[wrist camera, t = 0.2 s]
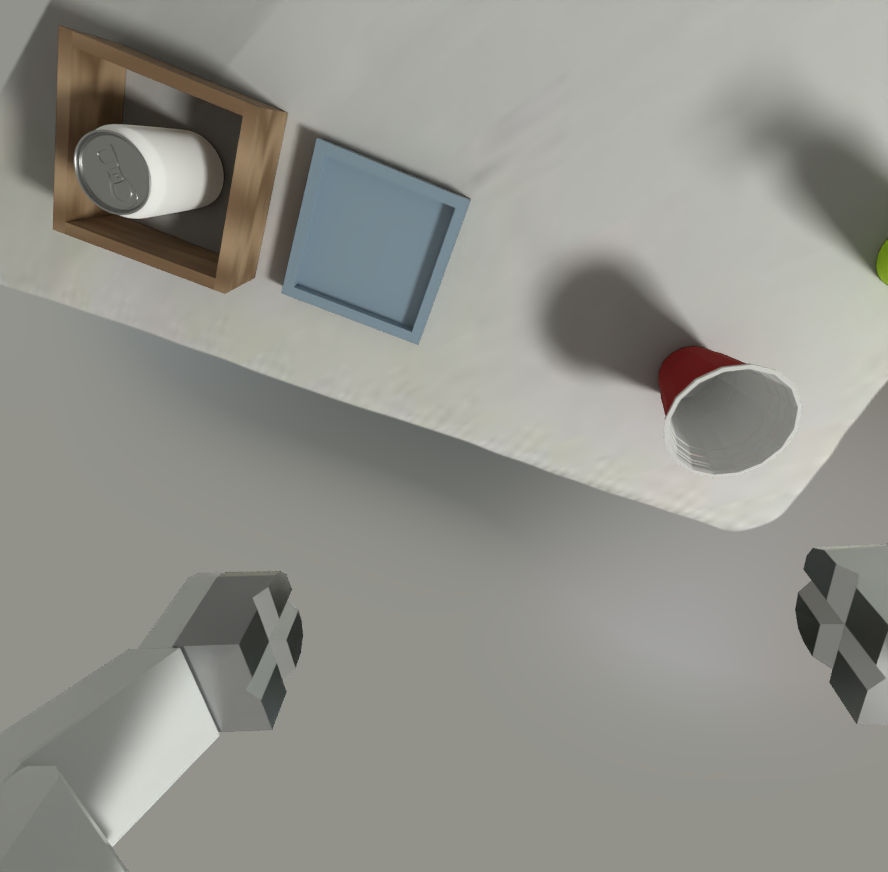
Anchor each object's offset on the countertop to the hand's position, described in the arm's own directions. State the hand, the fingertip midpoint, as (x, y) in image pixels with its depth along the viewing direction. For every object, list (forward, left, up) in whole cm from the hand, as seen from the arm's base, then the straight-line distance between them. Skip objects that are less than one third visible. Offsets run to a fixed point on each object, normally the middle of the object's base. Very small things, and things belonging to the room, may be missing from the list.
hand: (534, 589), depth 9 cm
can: (-7, -28, -48) cm, 56 cm away
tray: (0, -12, -48) cm, 49 cm away
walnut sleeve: (-7, -28, -48) cm, 55 cm away
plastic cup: (+16, +18, -48) cm, 53 cm away
